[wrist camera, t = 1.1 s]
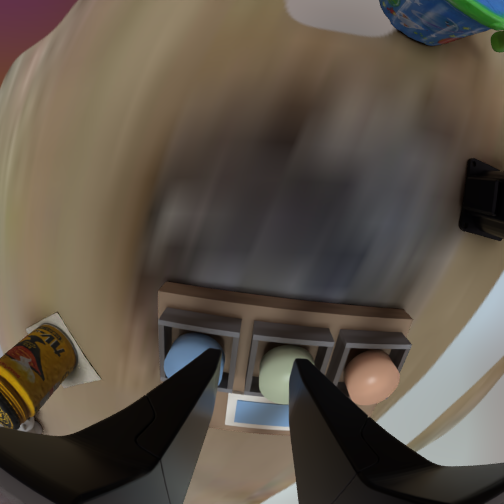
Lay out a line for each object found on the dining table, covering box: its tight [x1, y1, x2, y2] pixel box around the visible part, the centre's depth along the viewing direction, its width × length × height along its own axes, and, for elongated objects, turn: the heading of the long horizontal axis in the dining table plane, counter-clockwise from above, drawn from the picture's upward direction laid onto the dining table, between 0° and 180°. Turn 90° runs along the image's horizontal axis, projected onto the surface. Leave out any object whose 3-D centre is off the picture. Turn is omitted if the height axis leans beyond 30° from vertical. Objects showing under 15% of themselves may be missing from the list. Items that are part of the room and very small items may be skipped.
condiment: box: [0, 313, 101, 430], centre depth 19 cm, size 7×8×12 cm
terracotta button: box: [343, 350, 400, 405], centre depth 19 cm, size 4×4×2 cm
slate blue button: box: [164, 333, 225, 385], centre depth 19 cm, size 4×4×2 cm
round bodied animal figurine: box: [0, 416, 42, 434], centre depth 26 cm, size 7×12×8 cm, turn 143°
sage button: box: [259, 345, 315, 404], centre depth 19 cm, size 4×4×2 cm
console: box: [158, 282, 413, 436], centre depth 22 cm, size 20×14×4 cm
